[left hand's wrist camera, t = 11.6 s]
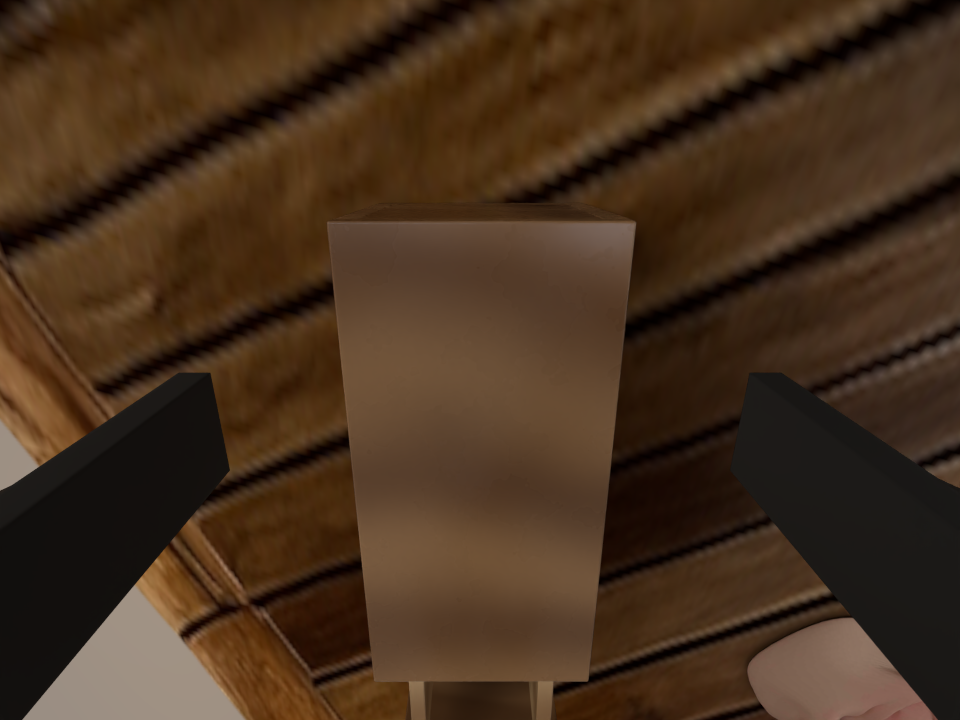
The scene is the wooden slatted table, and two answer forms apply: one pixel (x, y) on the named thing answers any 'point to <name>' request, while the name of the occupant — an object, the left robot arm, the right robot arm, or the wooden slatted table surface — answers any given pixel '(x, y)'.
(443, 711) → the drawer
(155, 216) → the wooden slatted table surface
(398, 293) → the cabinet
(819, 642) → the anatomical model
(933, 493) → the left robot arm
